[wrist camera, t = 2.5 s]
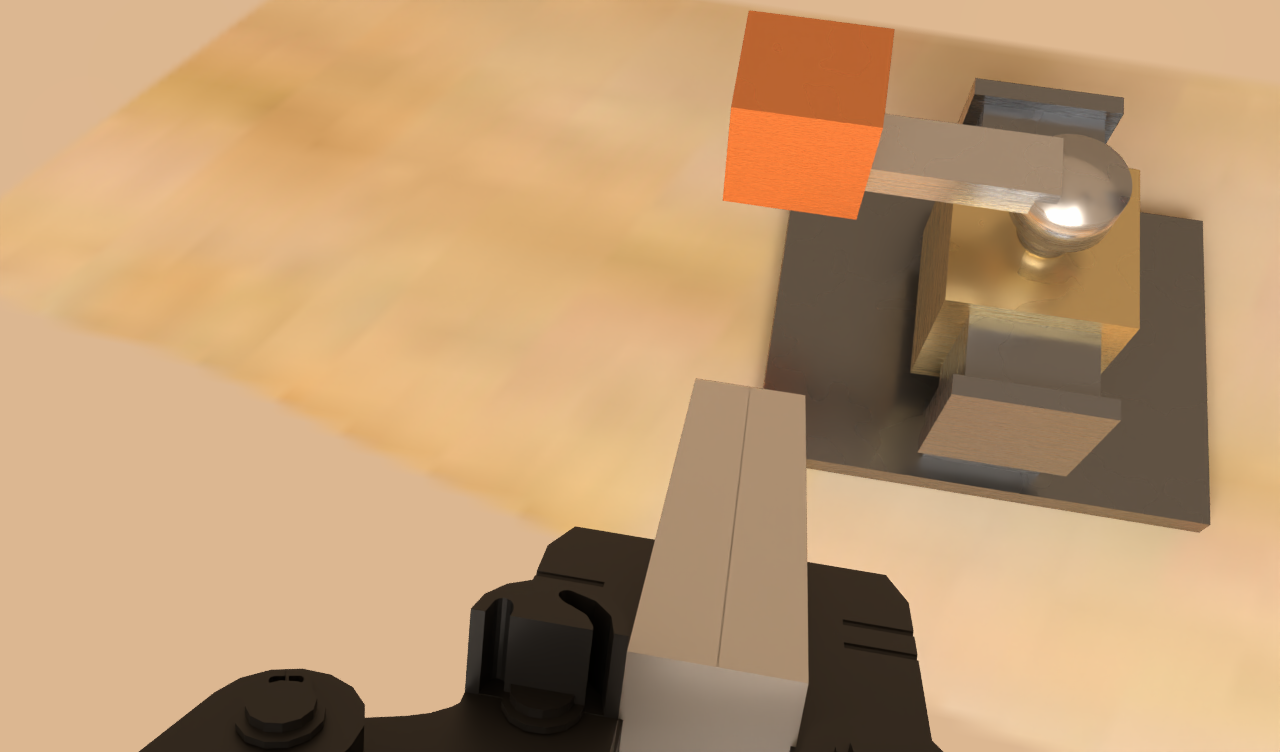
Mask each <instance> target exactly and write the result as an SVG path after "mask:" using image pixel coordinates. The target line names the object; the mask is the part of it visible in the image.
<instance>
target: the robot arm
mask: <svg viewBox="0 0 1280 752" xmlns="http://www.w3.org/2000/svg"><path fill="white" fill-rule="evenodd" d="M364 715H365V705H364V703H363V701H362V700H361V699H360V697H359V696H358V694H357V693H356V691H355V690H354V688H353V687H352V686H350V685H348V684H346V683H344V682H343V681H341V680H339V679H337V678H335V677H334V676H332V675H330V674H325V673H320V672H315V671H310V670H306V669H283V670H269V671H265V672H261V673H257V674H254V675H250V676H246V677H242V678H240V679H238V680H236V681H234V682H232V683H230V684H229V685H227V686H225V687H223V688H222V689H220V690H218V691H216V692H214V693H213V694H212V695H211V696H209V697H208V698H207V699H206V700H204V701H203V702H202V703H200V704H199V705H198V706H197V707H195V708H194V709H193V710H192V711H190V712H189V713H188V714H186V715H185V716H184V717H183V718H181V719H180V720H179V721H177V722H176V723H175V724H174V725H172V726H171V727H170V728H169V729H167V730H166V731H165V732H163V733H162V734H161V735H160V736H158V737H157V738H156V739H154V740H153V741H152V742H151V743H149V744H148V745H147V746H146V747H144V748H143V749H142V750H140V751H139V752H943V751H942V750H941V749H940V748H939V747H938V746H937V745H936V744H935V743H934V742H933V741H932V738H931V733H930V727H929V721H928V715H927V709H926V703H925V697H924V691H923V685H922V679H921V673H920V667H919V661H917V650H916V644H915V638H914V637H913V626H912V620H911V614H910V608H909V603H908V602H907V600H906V599H905V598H904V597H903V595H902V594H901V593H900V592H899V591H898V589H897V588H896V587H895V586H894V585H893V583H892V582H891V581H890V580H889V579H888V577H887V576H886V575H882V574H876V573H870V572H864V571H858V570H852V569H846V568H840V567H834V566H828V565H822V564H816V563H810V562H807V500H806V411H805V395H800V394H793V393H787V392H781V391H774V390H768V389H761V388H755V387H748V386H742V385H735V384H729V383H722V382H716V381H710V380H703V379H697V378H696V379H695V383H694V387H693V391H692V395H691V399H690V403H689V407H688V411H687V415H686V419H685V423H684V427H683V431H682V435H681V439H680V443H679V447H678V451H677V455H676V459H675V463H674V467H673V471H672V475H671V479H670V483H669V487H668V490H667V494H666V498H665V502H664V506H663V510H662V514H661V518H660V522H659V526H658V530H657V534H656V538H655V540H653V539H647V538H641V537H635V536H629V535H623V534H617V533H611V532H605V531H599V530H593V529H587V528H581V527H574V528H572V529H571V530H569V531H568V532H567V533H565V534H564V535H562V536H561V537H559V538H558V539H556V540H555V541H553V542H552V543H551V544H549V545H548V546H547V549H546V551H545V553H544V556H543V558H542V560H541V563H540V565H539V567H538V570H537V574H536V576H535V577H534V579H533V580H529V581H523V582H516V583H509V584H506V585H504V586H501V587H499V588H497V589H495V590H493V591H490V592H488V593H486V594H484V595H483V596H482V597H481V598H480V600H479V601H478V602H477V603H476V604H475V605H474V606H473V607H472V608H471V614H470V628H469V642H468V657H467V671H466V684H465V693H464V695H463V698H462V700H461V702H460V703H458V704H456V705H454V706H453V707H449V708H447V709H442V710H439V711H436V712H432V713H427V714H419V715H411V716H396V717H373V718H365V716H364Z"/></svg>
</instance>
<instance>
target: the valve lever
mask: <svg viewBox="0 0 1280 752" xmlns="http://www.w3.org/2000/svg"><path fill="white" fill-rule="evenodd" d="M893 37H894V29H889V28H881V27H873V26H866V25H858V24H850V23H842V22H835V21H827V20H819V19H811V18H804V17H796V16H788V15H780V14H773V13H765V12H757V11H749V13H748V18H747V24H746V29H745V35H744V40H743V46H742V51H741V57H740V62H739V67H738V73H737V78H736V84H735V89H734V95H733V100H732V106H731V115H730V126H729V137H728V149H727V160H726V171H725V182H724V193H723V201H730V202H737V203H744V204H751V205H758V206H765V207H771V208H778V209H785V210H792V211H799V212H806V213H813V214H820V215H827V216H834V217H841V218H848V219H855V220H856V219H857V216H858V212H859V209H860V205H861V202H862V199H863V195H864V192H865V191H868V192H875V193H883V194H890V195H897V196H904V197H911V198H918V199H925V200H932V201H939V202H946V203H953V204H960V205H967V206H974V207H981V208H988V209H995V210H1002V211H1009V214H1010V217H1011V219H1012V221H1013V223H1014V225H1015V226H1016V228H1017V229H1018V230H1019V231H1020V233H1021V234H1022V235H1023V236H1025V237H1026V238H1027V239H1028V240H1030V241H1031V242H1033V243H1034V244H1036V245H1038V246H1040V247H1042V248H1045V249H1048V250H1051V251H1056V252H1064V253H1070V252H1079V251H1083V250H1086V249H1089V248H1091V247H1093V246H1095V245H1096V244H1098V243H1099V242H1100V241H1101V240H1102V239H1103V238H1104V237H1105V236H1106V235H1107V233H1108V232H1109V230H1110V229H1111V227H1112V226H1113V224H1114V223H1115V221H1116V220H1117V218H1118V217H1119V215H1120V214H1121V213H1122V211H1123V210H1124V208H1125V207H1126V205H1127V204H1128V202H1129V200H1130V197H1131V194H1132V178H1131V174H1130V171H1129V169H1128V167H1127V165H1126V163H1125V162H1124V160H1123V159H1122V158H1121V156H1120V155H1119V154H1118V153H1117V152H1116V151H1114V150H1113V149H1112V148H1111V147H1109V146H1108V145H1106V144H1105V143H1103V142H1101V141H1099V140H1097V139H1094V138H1091V137H1088V136H1084V135H1079V134H1061V135H1056V136H1045V135H1037V134H1030V133H1023V132H1015V131H1008V130H1000V129H993V128H986V127H978V126H971V125H964V124H956V123H949V122H941V121H934V120H927V119H919V118H912V117H905V116H897V115H890V114H885V107H886V98H887V89H888V81H889V72H890V63H891V54H892V46H893Z"/></svg>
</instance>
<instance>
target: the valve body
mask: <svg viewBox="0 0 1280 752" xmlns="http://www.w3.org/2000/svg"><path fill="white" fill-rule="evenodd" d="M1123 114H1124V98H1122V97H1114V96H1107V95H1099V94H1091V93H1084V92H1076V91H1069V90H1061V89H1053V88H1046V87H1038V86H1031V85H1023V84H1015V83H1008V82H1000V81H993V80H985V79H978V78H975V81H974V83H973V86H972V89H971V91H970V94H969V96H968V99H967V102H966V104H965V107H964V109H963V112H962V114H961V117H960V120H959V122H958V124H964V125H971V126H978V127H986V128H993V129H1000V130H1008V131H1015V132H1023V133H1030V134H1037V135H1045V136H1056V135H1061V134H1079V135H1084V136H1088V137H1091V138H1094V139H1097V140H1099V141H1101V142H1103V143H1105V144H1106V143H1107V141H1108V139H1109V138H1110V136H1111V134H1112V133H1113V131H1114V129H1115V128H1116V126H1117V124H1118V122H1119V121H1120V119H1121V117H1122V116H1123ZM1128 169H1129V168H1128ZM1129 171H1130V174H1131V178H1132V194H1131V197H1130V200H1129V202H1128V204H1127V205H1126V207H1125V208H1124V210H1123V211H1122V213H1121V214H1120V215H1119V217H1118V218H1117V220H1116V221H1115V223H1114V224H1113V226H1112V227H1111V229H1110V230H1109V232H1108V233H1107V235H1106V236H1105V237H1104V238H1103V239H1102V240H1101V241H1100V242H1099V243H1098V244H1096V245H1095V246H1093V247H1091V248H1089V249H1086V250H1083V251H1079V252H1070V253H1064V252H1056V251H1051V250H1048V249H1045V248H1042V247H1040V246H1038V245H1036V244H1034V243H1033V242H1031V241H1030V240H1028V239H1027V238H1026V237H1025V236H1023V235H1022V234H1021V233H1020V231H1019V230H1018V229H1017V228H1016V226H1015V225H1014V223H1013V221H1012V219H1011V217H1010V214H1009V211H1002V210H995V209H988V208H981V207H974V206H967V205H960V204H953V203H946V202H939V201H932V200H925V199H918V198H911V197H904V196H897V195H890V194H883V193H875V192H868V191H865V192H864V195H863V199H862V202H861V205H860V209H859V212H858V216H857V219H856V220H855V219H848V218H841V217H834V216H827V215H820V214H813V213H806V212H799V211H792V210H790V213H789V220H788V226H787V233H786V240H785V246H784V253H783V260H782V266H781V273H780V279H779V286H778V293H777V299H776V306H775V313H774V319H773V326H772V333H771V339H770V346H769V353H768V359H767V366H766V373H765V379H764V386H763V389H768V390H774V391H781V392H787V393H793V394H800V395H805V411H806V468H810V469H816V470H822V471H828V472H834V473H840V474H847V475H853V476H859V477H865V478H871V479H877V480H883V481H889V482H895V483H901V484H907V485H913V486H920V487H926V488H932V489H938V490H944V491H950V492H956V493H962V494H968V495H974V496H980V497H987V498H993V499H999V500H1005V501H1011V502H1017V503H1023V504H1029V505H1035V506H1041V507H1047V508H1053V509H1060V510H1066V511H1072V512H1078V513H1084V514H1090V515H1096V516H1102V517H1108V518H1114V519H1120V520H1127V521H1133V522H1139V523H1145V524H1151V525H1157V526H1163V527H1169V528H1175V529H1181V530H1187V531H1193V532H1200V531H1202V530H1203V529H1205V528H1206V527H1208V526H1209V525H1210V497H1209V457H1208V418H1207V378H1206V338H1205V298H1204V258H1203V221H1198V220H1191V219H1184V218H1177V217H1170V216H1163V215H1156V214H1148V213H1141V212H1140V170H1136V169H1129Z"/></svg>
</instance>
